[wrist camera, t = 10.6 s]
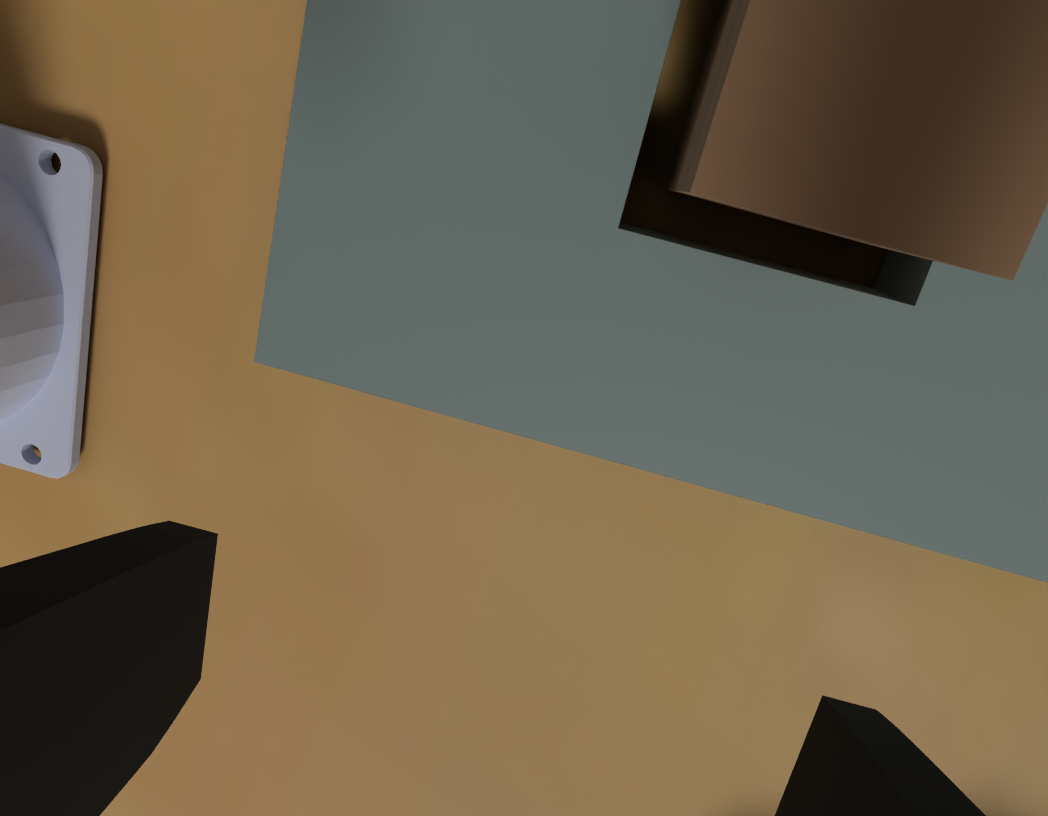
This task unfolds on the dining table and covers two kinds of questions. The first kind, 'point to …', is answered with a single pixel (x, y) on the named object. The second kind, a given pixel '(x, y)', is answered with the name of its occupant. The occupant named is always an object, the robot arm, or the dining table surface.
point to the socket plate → (630, 287)
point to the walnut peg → (878, 123)
